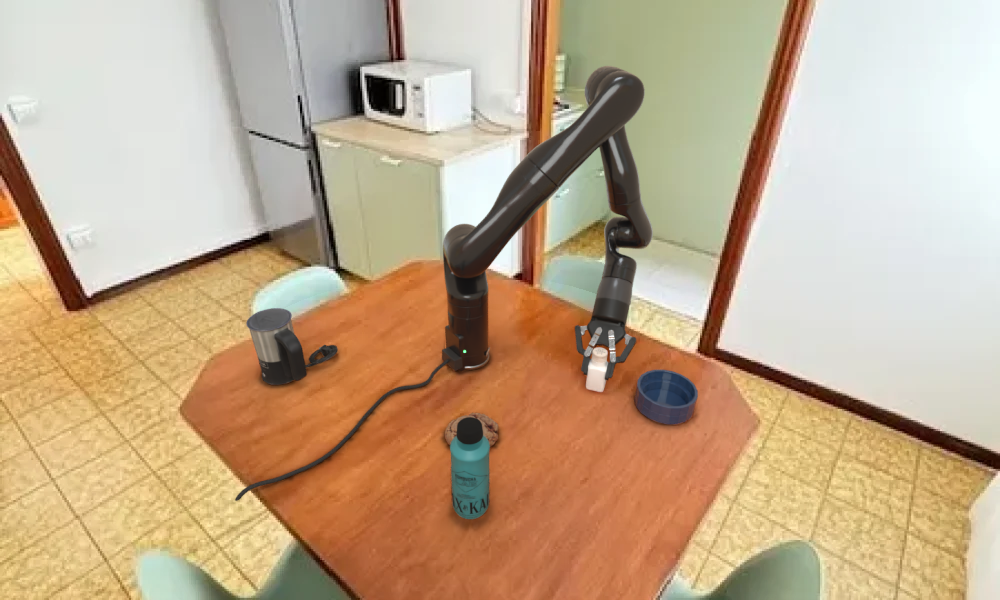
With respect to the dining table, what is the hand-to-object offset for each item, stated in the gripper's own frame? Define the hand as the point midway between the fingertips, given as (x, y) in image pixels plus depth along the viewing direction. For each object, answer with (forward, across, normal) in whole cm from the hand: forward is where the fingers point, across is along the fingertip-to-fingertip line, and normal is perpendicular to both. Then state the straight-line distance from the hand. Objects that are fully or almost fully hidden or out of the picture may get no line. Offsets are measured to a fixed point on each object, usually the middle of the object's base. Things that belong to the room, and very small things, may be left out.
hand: (595, 377), depth 115 cm
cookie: (+18, -20, -11) cm, 29 cm away
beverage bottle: (+30, -14, -22) cm, 40 cm away
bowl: (+2, +15, +4) cm, 16 cm away
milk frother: (+14, -66, -7) cm, 68 cm away
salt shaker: (+2, 0, +4) cm, 5 cm away
